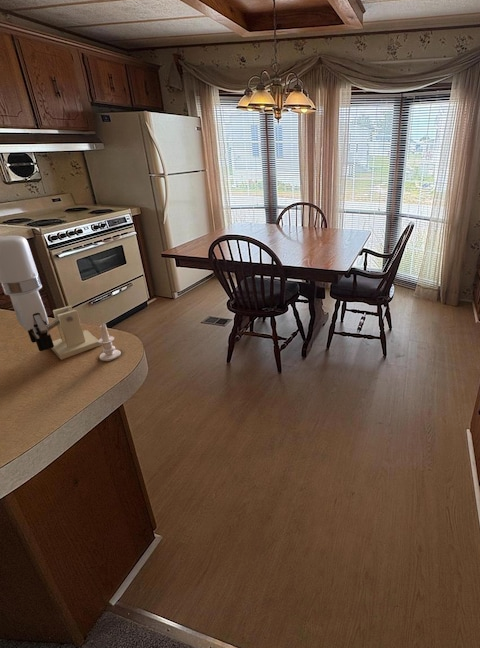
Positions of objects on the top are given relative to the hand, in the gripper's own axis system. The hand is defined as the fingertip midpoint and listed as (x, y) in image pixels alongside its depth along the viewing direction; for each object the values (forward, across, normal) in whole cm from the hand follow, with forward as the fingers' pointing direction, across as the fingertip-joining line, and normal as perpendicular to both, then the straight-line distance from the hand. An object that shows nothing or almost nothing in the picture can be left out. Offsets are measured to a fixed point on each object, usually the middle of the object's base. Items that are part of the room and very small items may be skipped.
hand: (42, 344), depth 94 cm
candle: (+4, +13, +11) cm, 18 cm away
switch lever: (-4, 0, +4) cm, 5 cm away
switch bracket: (+4, 0, +7) cm, 8 cm away
